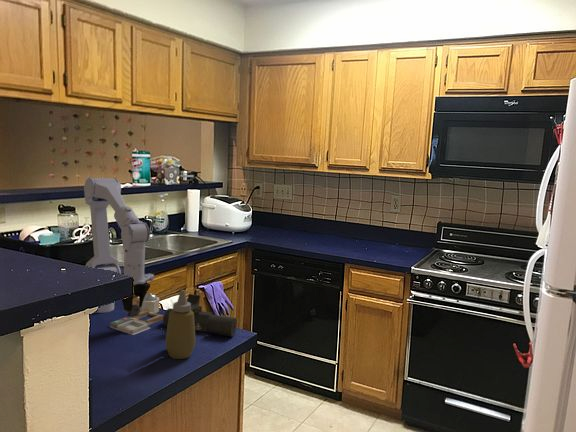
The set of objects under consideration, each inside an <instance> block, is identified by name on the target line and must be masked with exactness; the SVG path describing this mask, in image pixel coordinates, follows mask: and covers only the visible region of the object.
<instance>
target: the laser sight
mask: <svg viewBox="0 0 576 432" xmlns="http://www.w3.org/2000/svg"><path fill="white" fill-rule="evenodd" d="M200 299H201V294H200V295H199V294H195V293H194V294H192V293H188V297H187V302H189V303H191V311H193V312H194V321H195V332H198V333H199V332H201V333H207V334H206V335H209V333H210V334H212V335H213V334H214V335H221V336H225V337H226V336H227V337H234V336H235V334H236V331H237V327H238V326H237V325H238V319H237V318H236V317H232V316H227V315H225V316H224V315H218V314H213V312H210V311H202V308H203V307H202V305H200ZM172 310H173V308H167V309H166V310H165V313H164V314H163V320H162V321H163V326H164V327H167V326H168V319H169V313H170V312H171V311H172Z"/></svg>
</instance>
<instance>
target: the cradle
mask: <svg viewBox="0 0 576 432" xmlns="http://www.w3.org/2000/svg"><path fill="white" fill-rule="evenodd" d="M109 325H110V326H109V328H111V329H114V330H117V331H120V332H123V333H126V334H128V335H132V336H133V335H134V336H135V335H137V334H140V333H142V332H145V331H148V330H150V329H151V327H149V325H147V324H146V323H143V322H140V321H137V320H132V319H130V317H127V316H125V317H123V318H120V319H117V320H114V321H110V323H109Z"/></svg>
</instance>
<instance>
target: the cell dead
mask: <svg viewBox="0 0 576 432" xmlns="http://www.w3.org/2000/svg"><path fill="white" fill-rule="evenodd" d="M156 297H157V296H156V293H154V292H153V293H151V292H149V293H148V292H147V293H146V295H145V297H144V300H145V301H154V300H155V299H156Z"/></svg>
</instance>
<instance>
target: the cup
mask: <svg viewBox="0 0 576 432" xmlns="http://www.w3.org/2000/svg"><path fill="white" fill-rule="evenodd" d="M146 310H147V311H149V312H152V313H156V314H157V313H159V312H160V297H158V296H156V299H155V300H154V301H145V300H143V304H142V307H141V308H139V313H140V312H143V311H146Z"/></svg>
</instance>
